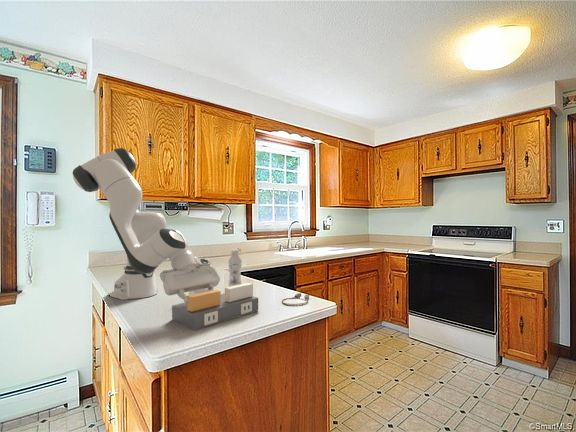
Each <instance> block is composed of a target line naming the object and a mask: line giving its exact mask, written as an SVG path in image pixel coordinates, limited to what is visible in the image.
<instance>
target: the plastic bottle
mask: <svg viewBox="0 0 576 432" xmlns="http://www.w3.org/2000/svg"><path fill="white" fill-rule="evenodd" d="M239 252H240V250H238V249H237V250H231V252H230V255H231V256H230V257H229V259H228V268H229V269H228V271H229V278H228V279H229V280H228V286H227V287H231V286H235V285H240V284H243V283H242V277H241V275H242V273H241V272H242V266H243V265H242V263H243V261H242V259H241V257H240V256H239V255H240V253H239Z"/></svg>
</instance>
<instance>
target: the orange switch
mask: <svg viewBox="0 0 576 432" xmlns="http://www.w3.org/2000/svg"><path fill="white" fill-rule="evenodd" d="M221 294H222V293H221V290H218V289H213V290H212V291H207V292H203V293H198V294H193V295H189V294H187V295H186V296H187V310H189V311H191V312H193V311H197V310H201V309H205V308H209V307H213V306H217V305H221Z"/></svg>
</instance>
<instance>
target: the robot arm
mask: <svg viewBox="0 0 576 432" xmlns="http://www.w3.org/2000/svg"><path fill="white" fill-rule="evenodd" d="M136 168H137V163H136V159H135V157H134V156H133V154H132V153H130V151H128V150H127V149H126V148H123V147H120V148H119V147H118V148H115V149H113V150H110V151H108V152H105V153H102V154H99V155H97V156H95V157H94V158H91V159H89V160H88V161H86V162H85V163H83V164H81V165H80V164H79V165H78V166H77V167H75V168H74V169H73V170H72V178H73V180H74V183H75V185H76V186H77V187H79V188H80V189H81V190H83V191H84V192H88V193H93V192H96V191H98V190H99V189H100V191H101V192H102V194H103V196H104V197H105V198H106V200H107V201H108V203H109V215H108V217H109V220H110V222H111V224H112V227H113V230H114V231H115V234H116V235H117V238H118V239H119V241H120V244H121V245H122V248H123V250H124V251H125V254H126V265H125V267H123V270H124V272H123V274H122V275H121V276H120V277H119V278H118V279H117V280H116V281H114V283H113V290H112V291H110V292H108V293H107V296H109V295H110V296H109V297H112V298H116V299H118V300H122V301H124V300H133V299H142V298H148V297H149V298H150V297H151V296H155V295H157V294H158V291H159V290H158V288H157V282H156V275H155V273H154V272H155V271H156V269H157V268H158V267H159V266H160V265H161V264H162V263H164V262H165V261H166V260H169V261H170V262H171V263H170V264H171V265H170V266H171V267H172V268H171V269H169V270H167V269H166V270H162V272H160V274H159V278H160V280H161V282H162V287H163V290H164V293H165V294H166V296H174V295H175V296H176V295H177V296H178V297H179V298H180V299H182V300H183V303H187V296H188V295H187V294H185V293H189V292H190V291H195V290H200V289H205V288H208V290H210V291H212V290H215V289H214V288H215V287H217V286H218V285H219V283H220V281H221V278H220V275H219V273H218V271H217V270H216V268H215V267H214V266H213V265H211V264H212V262H211V260H210V259H208V258H202V257H197V256H195V254H194V253H193V251H192V247H191V245H190V243H189V242H188V240H187V239H186V238H187V237H185V236H184V234H183V233H182V232H181V231H179V230H176V229H171V228H166V227H167V220H166V218H165V216H164V214H162V213H159V212H155V211H140V210H139V209H138V208H139V207H140V205H141V203H142V201H143V196H144V195H143V189H142V187H141V185H139V183H138V181H137V180H136V178H135V177H134V176H133V175H132V174H133V172H134V171H135V170H136Z"/></svg>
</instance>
